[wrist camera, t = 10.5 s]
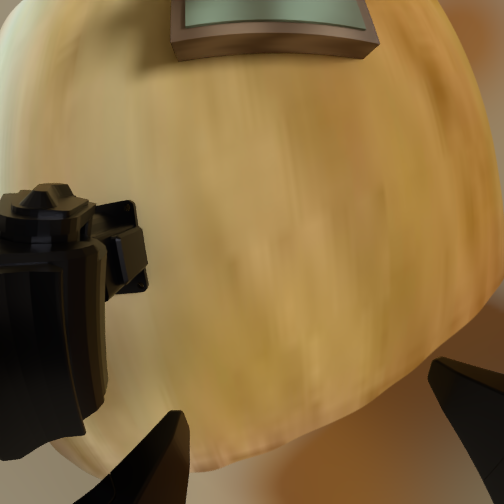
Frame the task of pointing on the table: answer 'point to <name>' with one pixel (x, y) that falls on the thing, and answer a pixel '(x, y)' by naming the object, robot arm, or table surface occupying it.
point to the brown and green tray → (271, 27)
